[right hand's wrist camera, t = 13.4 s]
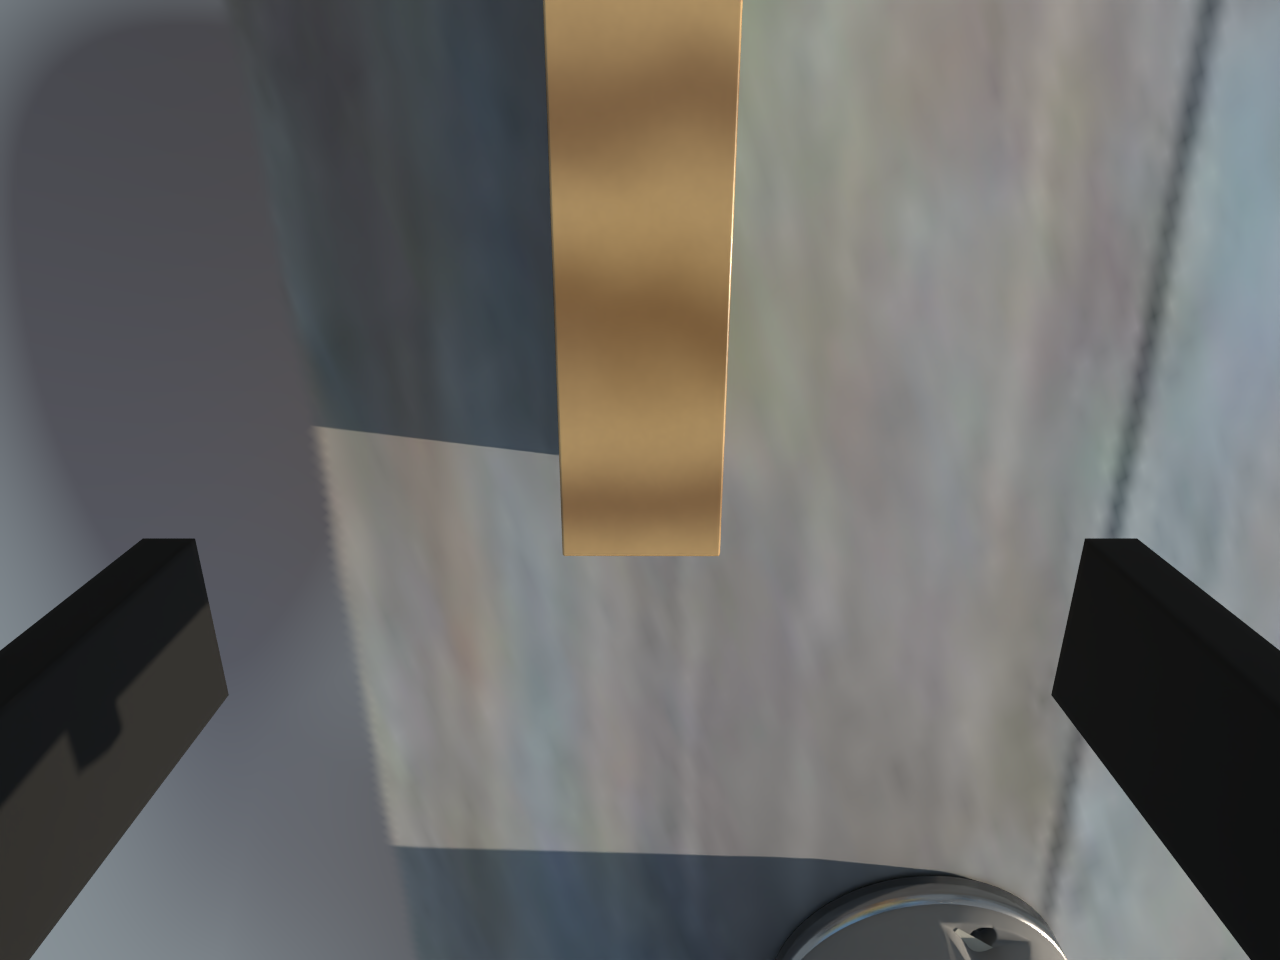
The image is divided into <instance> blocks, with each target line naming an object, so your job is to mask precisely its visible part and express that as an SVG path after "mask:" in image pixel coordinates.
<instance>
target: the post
mask: <svg viewBox="0 0 1280 960" xmlns="http://www.w3.org/2000/svg"><path fill="white" fill-rule="evenodd" d="M742 2H743V0H543V14H544V42H545V70H546V98H547V126H548V154H549V182H550V210H551V239H552V267H553V295H554V323H555V351H556V379H557V407H558V435H559V463H560V491H561V520H562V548H563V555H564V556H719V554H720V536H721V512H722V487H723V463H724V439H725V415H726V390H727V366H728V342H729V317H730V293H731V269H732V245H733V220H734V196H735V172H736V147H737V123H738V99H739V75H740V50H741V26H742Z"/></svg>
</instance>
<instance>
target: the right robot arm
mask: <svg viewBox="0 0 1280 960" xmlns="http://www.w3.org/2000/svg"><path fill="white" fill-rule="evenodd" d="M227 696H228V690H227V685H226V681H225V676H224V671H223V667H222V662H221V658H220V653H219V648H218V644H217V639H216V634H215V630H214V625H213V620H212V616H211V611H210V606H209V602H208V597H207V593H206V588H205V583H204V578H203V574H202V569H201V565H200V560H199V555H198V551H197V546H196V541H195V539H142V540H141V541H139V542H138V543H137V544H136V545H134V546H133V547H132V548H130V549H129V550H128V551H127V552H125V553H124V554H123V555H121V556H120V557H119V558H118V559H116V560H115V561H114V562H113V563H111V564H110V565H109V566H108V567H106V568H105V569H104V570H102V571H101V572H100V573H99V574H97V575H96V576H95V577H94V578H92V579H91V580H90V581H88V582H87V583H86V584H85V585H83V586H82V587H81V588H80V589H78V590H77V591H76V592H74V593H73V594H72V595H71V596H69V597H68V598H67V599H65V600H64V601H63V602H62V603H60V604H59V605H58V606H57V607H55V608H54V609H53V610H51V611H50V612H49V613H48V614H46V615H45V616H44V617H43V618H41V619H40V620H39V621H37V622H36V623H35V624H34V625H32V626H31V627H30V628H29V629H27V630H26V631H25V632H23V633H22V634H21V635H20V636H18V637H17V638H16V639H14V640H13V641H12V642H11V643H9V644H8V645H7V646H6V647H4V648H3V649H2V650H0V960H29V959H30V958H31V957H32V955H33V954H34V953H35V951H36V950H37V949H38V947H39V946H40V945H41V943H42V942H43V941H44V939H45V938H46V937H47V935H48V934H49V933H50V931H51V930H52V929H53V927H54V926H55V925H56V923H57V922H58V921H59V919H60V918H61V917H62V916H63V914H64V913H65V912H66V910H67V909H68V908H69V906H70V905H71V904H72V902H73V901H74V900H75V898H76V897H77V896H78V894H79V893H80V892H81V890H82V889H83V888H84V886H85V885H86V884H87V882H88V881H89V880H90V878H91V877H92V876H93V874H94V873H95V872H96V870H97V869H98V868H99V866H100V865H101V864H102V862H103V861H104V860H105V858H106V857H107V856H108V854H109V853H110V852H111V850H112V849H113V848H114V846H115V845H116V844H117V842H118V841H119V840H120V839H121V837H122V836H123V834H124V833H125V832H126V831H127V829H128V828H129V827H130V825H131V824H132V823H133V821H134V820H135V818H136V817H137V816H138V815H139V813H140V812H141V811H142V809H143V808H144V807H145V805H146V804H147V803H148V801H149V800H150V799H151V797H152V796H153V795H154V793H155V792H156V791H157V789H158V788H159V787H160V785H161V784H162V783H163V781H164V780H165V779H166V777H167V776H168V775H169V773H170V772H171V771H172V769H173V768H174V767H175V765H176V764H177V763H178V761H179V760H180V759H181V757H182V756H183V755H184V753H185V752H186V751H187V750H188V748H189V747H190V745H191V744H192V743H193V742H194V740H195V739H196V738H197V736H198V735H199V734H200V732H201V731H202V730H203V728H204V727H205V726H206V724H207V723H208V722H209V720H210V719H211V718H212V716H213V715H214V714H215V712H216V711H217V710H218V708H219V707H220V706H221V704H222V703H223V702H224V700H225V699H226V698H227ZM1052 696H1053V698H1054V699H1055V700H1056V702H1057V703H1058V704H1059V706H1060V707H1061V708H1062V710H1063V711H1064V712H1065V714H1066V715H1067V716H1068V718H1069V719H1070V720H1071V722H1072V723H1073V724H1074V726H1075V727H1076V728H1077V730H1078V731H1079V732H1080V734H1081V735H1082V736H1083V738H1084V739H1085V740H1086V742H1087V743H1088V744H1089V746H1090V747H1091V748H1092V750H1093V751H1094V752H1095V753H1096V755H1097V756H1098V757H1099V759H1100V760H1101V761H1102V763H1103V764H1104V765H1105V767H1106V768H1107V769H1108V771H1109V772H1110V773H1111V775H1112V776H1113V777H1114V779H1115V780H1116V781H1117V783H1118V784H1119V785H1120V787H1121V788H1122V789H1123V791H1124V792H1125V793H1126V795H1127V796H1128V797H1129V799H1130V800H1131V801H1132V803H1133V804H1134V805H1135V807H1136V808H1137V809H1138V811H1139V812H1140V813H1141V815H1142V816H1143V817H1144V819H1145V820H1146V821H1147V823H1148V824H1149V825H1150V827H1151V828H1152V829H1153V831H1154V832H1155V833H1156V835H1157V836H1158V837H1159V839H1160V840H1161V841H1162V842H1163V844H1164V845H1165V846H1166V848H1167V849H1168V850H1169V852H1170V853H1171V854H1172V856H1173V857H1174V858H1175V860H1176V861H1177V862H1178V864H1179V865H1180V866H1181V868H1182V869H1183V870H1184V872H1185V873H1186V874H1187V876H1188V877H1189V878H1190V880H1191V881H1192V882H1193V884H1194V885H1195V886H1196V888H1197V889H1198V890H1199V892H1200V893H1201V894H1202V896H1203V897H1204V898H1205V900H1206V901H1207V902H1208V904H1209V905H1210V906H1211V908H1212V909H1213V910H1214V912H1215V913H1216V914H1217V916H1218V917H1219V918H1220V920H1221V921H1222V922H1223V924H1224V925H1225V926H1226V928H1227V929H1228V930H1229V931H1230V933H1231V934H1232V935H1233V937H1234V938H1235V939H1236V941H1237V942H1238V943H1239V945H1240V946H1241V947H1242V949H1243V950H1244V951H1245V953H1246V954H1247V955H1248V957H1249V958H1250V959H1251V960H1280V650H1278V649H1277V648H1276V647H1274V646H1273V645H1272V644H1271V643H1269V642H1268V641H1267V640H1266V639H1264V638H1263V637H1262V636H1260V635H1259V634H1258V633H1257V632H1255V631H1254V630H1253V629H1252V628H1250V627H1249V626H1248V625H1246V624H1245V623H1244V622H1243V621H1241V620H1240V619H1239V618H1238V617H1236V616H1235V615H1234V614H1232V613H1231V612H1230V611H1229V610H1227V609H1226V608H1225V607H1223V606H1222V605H1221V604H1220V603H1218V602H1217V601H1216V600H1215V599H1213V598H1212V597H1211V596H1209V595H1208V594H1207V593H1206V592H1204V591H1203V590H1202V589H1201V588H1199V587H1198V586H1197V585H1195V584H1194V583H1193V582H1192V581H1190V580H1189V579H1188V578H1187V577H1185V576H1184V575H1183V574H1181V573H1180V572H1179V571H1178V570H1176V569H1175V568H1174V567H1173V566H1171V565H1170V564H1169V563H1167V562H1166V561H1165V560H1164V559H1162V558H1161V557H1160V556H1159V555H1157V554H1156V553H1155V552H1153V551H1152V550H1151V549H1150V548H1148V547H1147V546H1146V545H1145V544H1143V543H1142V542H1141V541H1139V540H1138V539H1085V541H1084V546H1083V551H1082V555H1081V560H1080V565H1079V569H1078V574H1077V578H1076V583H1075V588H1074V592H1073V597H1072V602H1071V606H1070V611H1069V616H1068V620H1067V625H1066V630H1065V634H1064V639H1063V644H1062V648H1061V653H1060V657H1059V662H1058V667H1057V671H1056V676H1055V681H1054V685H1053V690H1052ZM775 960H1067V959H1066V957H1065V955H1064V953H1063V951H1062V950H1061V948H1060V946H1059V944H1058V942H1057V940H1056V938H1055V936H1054V934H1053V932H1052V931H1051V929H1050V928H1049V926H1048V925H1047V923H1046V922H1045V921H1044V919H1043V918H1042V917H1041V916H1040V915H1039V914H1038V913H1037V912H1036V911H1035V910H1034V909H1033V908H1032V907H1031V906H1029V905H1028V904H1027V903H1025V902H1024V901H1022V900H1021V899H1019V898H1018V897H1016V896H1014V895H1013V894H1011V893H1009V892H1007V891H1004V890H1002V889H1000V888H998V887H995V886H992V885H989V884H986V883H983V882H979V881H975V880H970V879H964V878H959V877H948V876H916V877H906V878H899V879H893V880H888V881H884V882H880V883H876V884H873V885H869V886H866V887H863V888H861V889H858V890H855V891H852V892H850V893H848V894H846V895H844V896H842V897H839V898H838V899H836V900H834V901H832V902H830V903H829V904H827V905H825V906H824V907H822V908H821V909H819V910H818V911H816V912H815V913H814V914H812V915H811V916H810V917H809V918H807V919H806V920H805V921H804V922H803V923H802V924H801V925H800V926H799V927H798V928H797V929H796V930H795V931H794V932H793V933H792V934H791V936H790V937H789V938H788V939H787V941H786V942H785V944H784V945H783V946H782V948H781V950H780V952H779V953H778V955H777V957H776V959H775Z"/></svg>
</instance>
